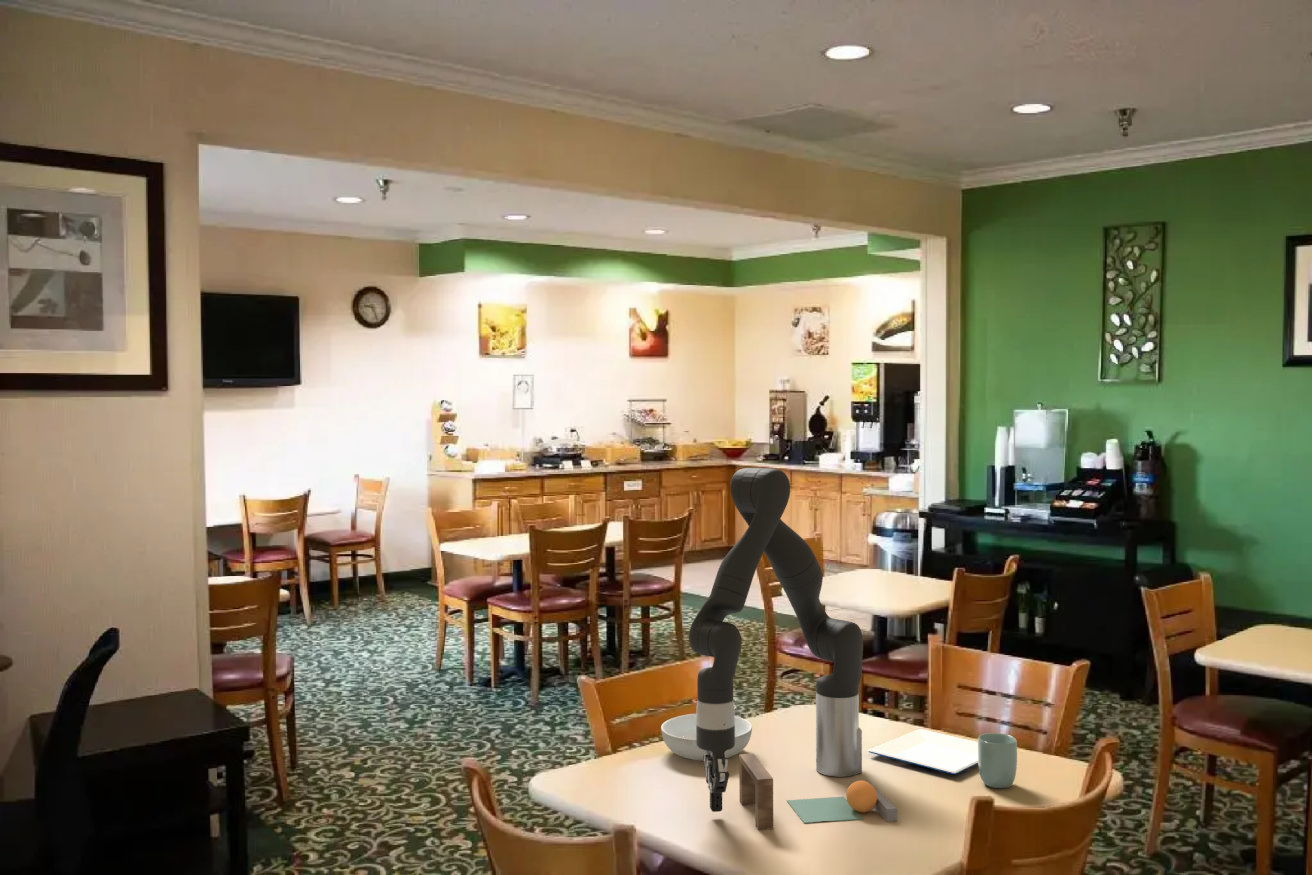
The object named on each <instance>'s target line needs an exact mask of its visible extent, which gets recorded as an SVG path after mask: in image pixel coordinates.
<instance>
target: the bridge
mask: <svg viewBox="0 0 1312 875" xmlns="http://www.w3.org/2000/svg"><path fill="white" fill-rule="evenodd" d="M738 754H739V753H738ZM738 758H739V759H738V760H739V761H738V762H739V764H738V765H739V770H738V771H739V772H738V773H739V778H738V780H739V781H738V782H739V803H740V805H741V804H742V805H741V806H749V805H748V804H754V805H755V806H754V808H755V809H754V813H755V816H754V817H755V818H754V819H755V823H754V825H755V828H756V827H757V828H756V830H757V831H762V830H773V829H774V778H773V776H772V775H771V774H770V773H769V771H768V770H767V768H766V767H765V766H764V765H763V763H762V762H761V761H760V760H759V758H758V757H757V756H756V755H755V753H742V754H739V756H738Z"/></svg>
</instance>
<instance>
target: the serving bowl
mask: <svg viewBox="0 0 1312 875" xmlns="http://www.w3.org/2000/svg"><path fill="white" fill-rule="evenodd" d="M660 732H661V735H662V740H663V742H664V744H665V745H666V747H668V749H669V750H670V751H671V752H672V753H674V754H676V755H677V756H679V757H682V758H685V759H690V760H695V761H699V762H700V761H701V762H704V759H703V755H704V754H707V753H706V751H705V750H702V749H700V748H699V747H698V746H697V744H696V713H689V714H684V715H683V714H682V715H679V716H676V717H672V718H670V719H667V720H666V721H664V722H663V723H662V724H661V727H660ZM752 732H753V725H752V723H751V722H750V721H748V720H747V719H745V718H743V717H740V716H736V715H735V745H734V747H733V748H732V749H730V750H727V751H725V753H724V754H725V758H726V757H727V759H728V758H731V757H733V756H735V755H737V754H739V753H741V752H742V751H743V750H744V749H745V748H746V747H747V746H748V744H749V742H750V739H751V737H752ZM683 736H684V737H683Z"/></svg>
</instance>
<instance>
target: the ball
mask: <svg viewBox="0 0 1312 875" xmlns="http://www.w3.org/2000/svg"><path fill="white" fill-rule="evenodd" d="M845 796H846V797H845V798H846V800H847V802H848V804H849V805H850V807H851V808H852V809H854V810H855V811H857V812H858V813H868V812H870V811H872V810H873V809H874V806H875V805H876V802H877V793H876V790H875V788H874V787H873V786H872V785H871V784H870V783H868V782H866V781H864V780H856V781H853V782H852V783H850V785H849V786H848V787H847V790H846V795H845Z"/></svg>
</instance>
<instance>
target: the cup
mask: <svg viewBox="0 0 1312 875" xmlns="http://www.w3.org/2000/svg"><path fill="white" fill-rule="evenodd" d="M977 742H978V764H977V766H978V772H979V778H980V780H981V781H982V782H983V783H984V785H986V786H987V787H990V788H992V789H993V788H994V789H1006V788H1009V787H1011V786H1012V785H1013V784H1014V782H1015V779H1016V777H1017V776H1016V775H1017V765H1018V741H1017V739H1016V738H1015V737H1014V736H1012V735H1009V734H1006V733H999V732H989V733H987V732H985V733H982V734H979V736H978V738H977Z"/></svg>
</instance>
